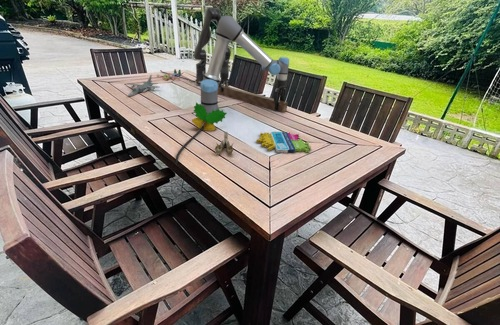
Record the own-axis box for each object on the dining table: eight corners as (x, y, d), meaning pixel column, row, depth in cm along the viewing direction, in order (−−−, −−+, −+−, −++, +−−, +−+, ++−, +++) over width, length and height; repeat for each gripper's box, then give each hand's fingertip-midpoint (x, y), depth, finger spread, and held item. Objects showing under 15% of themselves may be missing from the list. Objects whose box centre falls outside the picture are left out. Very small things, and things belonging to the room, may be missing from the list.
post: (286, 111, 205) (287, 102, 202) (283, 112, 202) (284, 103, 198) (221, 92, 242) (221, 84, 238) (217, 93, 238) (217, 85, 235)
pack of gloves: (313, 150, 142) (258, 149, 139) (312, 153, 143) (258, 152, 140) (301, 132, 164) (254, 130, 161) (301, 134, 165) (254, 133, 162)
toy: (189, 70, 290) (176, 74, 264) (189, 77, 293) (177, 81, 267) (166, 67, 295) (151, 71, 269) (167, 74, 298) (152, 78, 272)
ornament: (218, 133, 171) (224, 110, 169) (221, 134, 163) (227, 111, 161) (186, 125, 162) (192, 101, 160) (189, 126, 155) (195, 101, 153)
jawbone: (234, 135, 144) (233, 125, 135) (233, 160, 138) (232, 151, 129) (217, 135, 144) (216, 125, 135) (216, 160, 138) (214, 150, 129)
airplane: (122, 86, 238) (120, 75, 233) (157, 84, 251) (156, 73, 246) (126, 99, 210) (124, 86, 204) (166, 95, 223) (165, 83, 218)
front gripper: (283, 77, 203) (280, 106, 215) (270, 80, 191) (267, 110, 202) (292, 78, 199) (288, 108, 211) (279, 82, 187) (275, 113, 198)
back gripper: (226, 70, 234) (226, 89, 243) (215, 72, 224) (215, 92, 233) (233, 72, 230) (232, 91, 239) (221, 73, 220) (221, 93, 229)
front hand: (278, 109), depth 206 cm, fingers closed on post, 5 cm apart
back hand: (224, 91), depth 236 cm, fingers closed on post, 5 cm apart
